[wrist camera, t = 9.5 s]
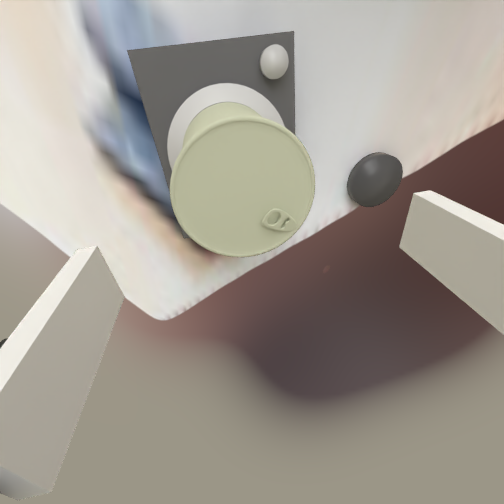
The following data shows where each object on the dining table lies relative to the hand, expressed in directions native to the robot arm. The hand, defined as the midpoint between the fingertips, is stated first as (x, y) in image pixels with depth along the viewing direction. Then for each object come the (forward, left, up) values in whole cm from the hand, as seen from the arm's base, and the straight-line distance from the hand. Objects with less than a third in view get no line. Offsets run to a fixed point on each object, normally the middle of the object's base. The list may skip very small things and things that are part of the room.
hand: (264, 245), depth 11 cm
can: (0, 0, -18) cm, 18 cm away
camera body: (0, 0, -23) cm, 23 cm away
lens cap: (+7, +19, -23) cm, 30 cm away
